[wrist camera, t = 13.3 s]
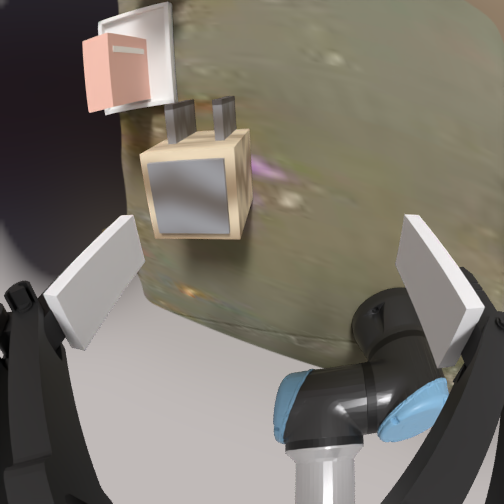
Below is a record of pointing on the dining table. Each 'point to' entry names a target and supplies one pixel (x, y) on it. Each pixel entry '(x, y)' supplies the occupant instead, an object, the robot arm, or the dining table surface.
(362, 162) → the dining table surface
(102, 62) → the tall salmon pink block
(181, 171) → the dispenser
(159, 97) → the tray
